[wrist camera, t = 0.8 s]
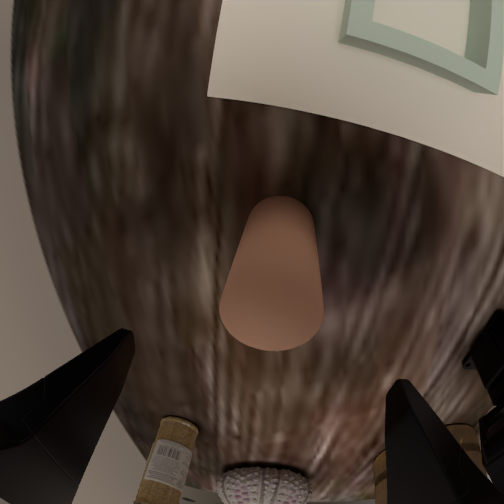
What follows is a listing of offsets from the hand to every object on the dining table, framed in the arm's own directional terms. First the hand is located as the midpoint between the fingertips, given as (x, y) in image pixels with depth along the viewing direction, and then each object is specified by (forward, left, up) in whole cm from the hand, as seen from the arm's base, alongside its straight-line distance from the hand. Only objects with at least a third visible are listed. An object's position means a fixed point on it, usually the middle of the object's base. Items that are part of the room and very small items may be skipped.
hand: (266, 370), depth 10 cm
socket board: (-5, -15, -11) cm, 19 cm away
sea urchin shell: (-6, +38, -11) cm, 40 cm away
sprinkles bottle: (+6, +26, -11) cm, 29 cm away
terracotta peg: (0, 0, -11) cm, 11 cm away
